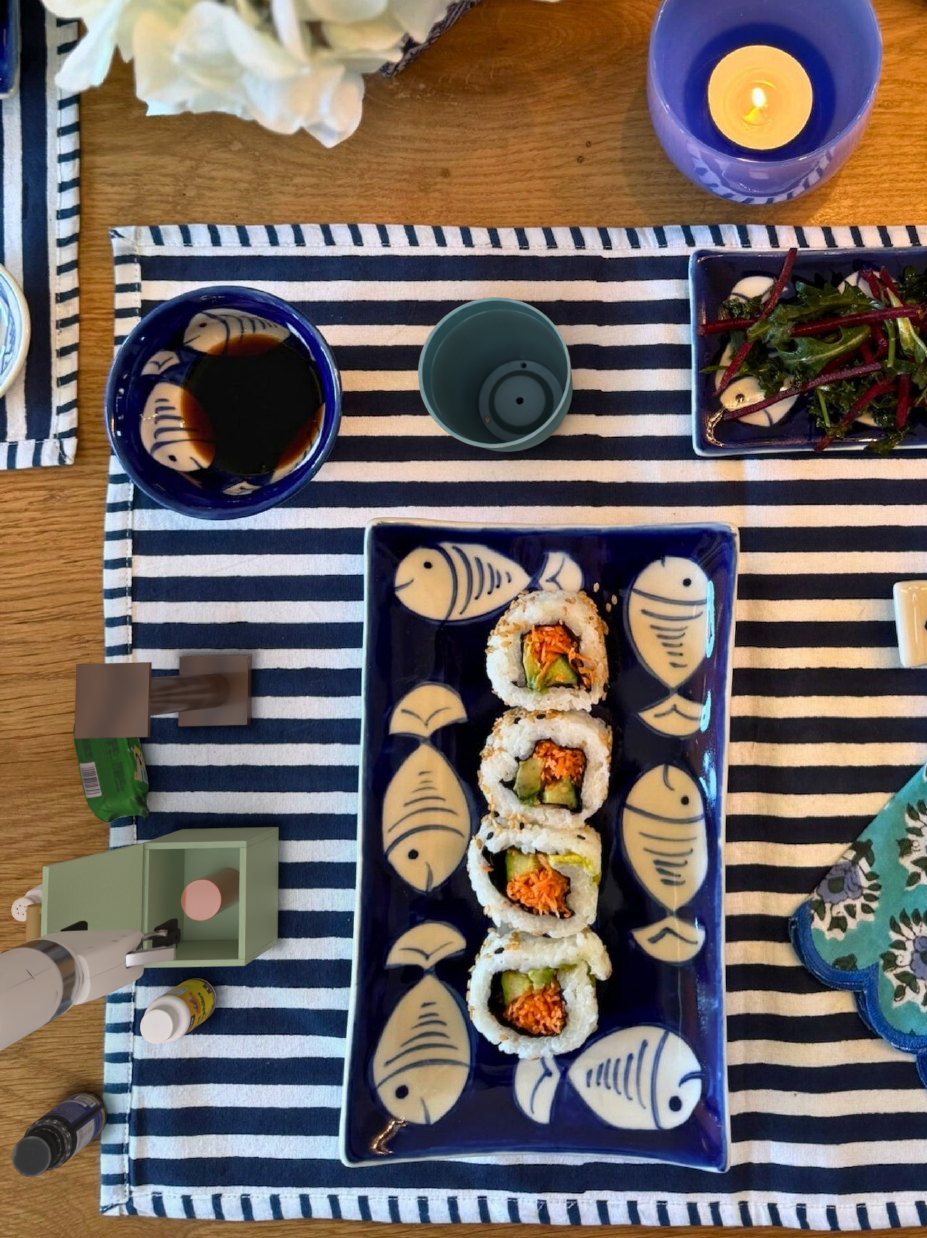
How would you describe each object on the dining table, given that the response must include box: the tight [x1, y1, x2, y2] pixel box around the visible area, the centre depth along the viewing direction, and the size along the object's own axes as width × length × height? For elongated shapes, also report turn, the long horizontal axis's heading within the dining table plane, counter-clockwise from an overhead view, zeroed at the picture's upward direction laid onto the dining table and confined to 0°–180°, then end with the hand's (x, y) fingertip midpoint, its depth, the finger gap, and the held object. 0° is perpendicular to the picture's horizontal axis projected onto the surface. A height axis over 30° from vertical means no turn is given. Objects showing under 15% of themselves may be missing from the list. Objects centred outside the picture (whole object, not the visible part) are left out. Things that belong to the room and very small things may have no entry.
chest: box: [141, 826, 280, 969], centre depth 135 cm, size 13×15×10 cm
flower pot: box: [417, 296, 574, 453], centre depth 136 cm, size 18×18×17 cm
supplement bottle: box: [139, 977, 217, 1045], centre depth 133 cm, size 6×6×10 cm
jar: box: [181, 867, 240, 921], centre depth 135 cm, size 5×5×7 cm
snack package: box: [72, 722, 150, 824], centre depth 139 cm, size 7×16×5 cm, turn 15°
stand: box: [73, 654, 253, 740], centre depth 130 cm, size 9×9×25 cm
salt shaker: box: [10, 883, 42, 922], centre depth 135 cm, size 5×5×11 cm
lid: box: [25, 843, 143, 943], centre depth 124 cm, size 13×15×5 cm
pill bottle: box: [11, 1091, 108, 1178], centre depth 132 cm, size 6×6×11 cm
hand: (129, 934), depth 117 cm, fingers open, 9 cm apart
